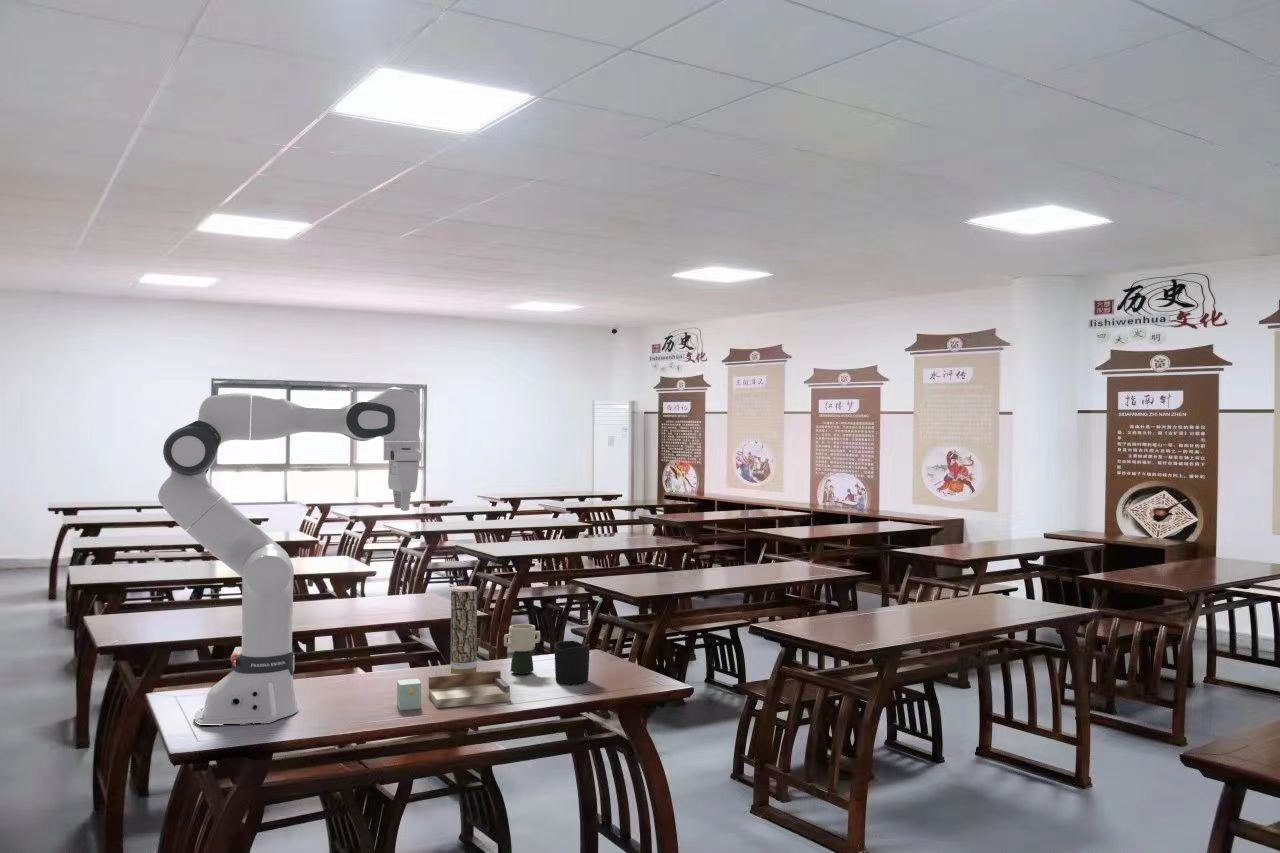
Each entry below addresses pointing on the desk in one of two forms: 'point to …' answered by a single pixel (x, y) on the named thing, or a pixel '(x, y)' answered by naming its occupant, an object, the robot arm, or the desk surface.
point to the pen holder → (571, 662)
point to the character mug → (522, 646)
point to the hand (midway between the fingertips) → (401, 509)
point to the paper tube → (463, 629)
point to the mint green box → (408, 694)
